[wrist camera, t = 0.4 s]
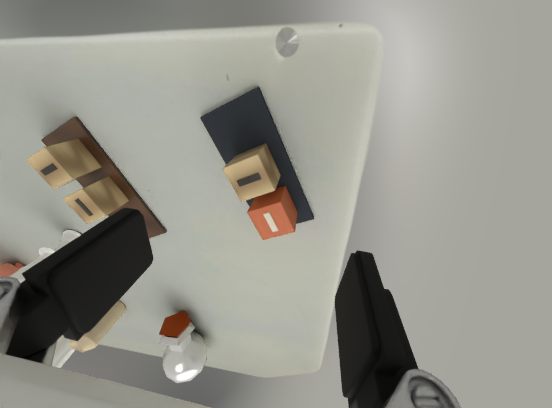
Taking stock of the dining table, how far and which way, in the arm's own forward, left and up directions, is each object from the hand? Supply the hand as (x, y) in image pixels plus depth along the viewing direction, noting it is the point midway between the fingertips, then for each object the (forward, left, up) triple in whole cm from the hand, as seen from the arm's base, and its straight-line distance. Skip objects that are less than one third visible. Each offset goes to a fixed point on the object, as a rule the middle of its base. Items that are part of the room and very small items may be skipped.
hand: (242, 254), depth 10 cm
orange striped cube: (+7, -5, -19) cm, 21 cm away
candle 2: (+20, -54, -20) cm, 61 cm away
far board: (-4, -29, -20) cm, 36 cm away
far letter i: (-3, -29, -19) cm, 35 cm away
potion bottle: (+32, -39, -20) cm, 54 cm away
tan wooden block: (-9, -29, -19) cm, 36 cm away
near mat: (+2, -5, -20) cm, 20 cm away
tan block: (+1, -5, -19) cm, 20 cm away
